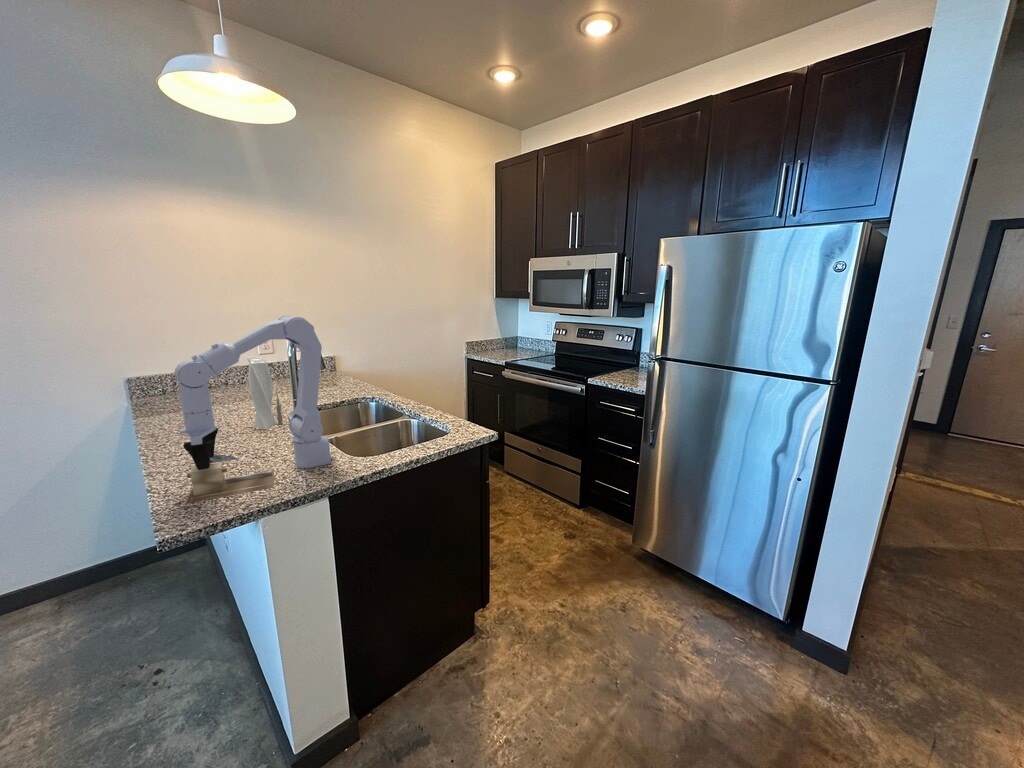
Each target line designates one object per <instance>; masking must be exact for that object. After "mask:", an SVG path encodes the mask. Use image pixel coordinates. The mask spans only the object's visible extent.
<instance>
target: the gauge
mask: <svg viewBox="0 0 1024 768" xmlns="http://www.w3.org/2000/svg"><path fill="white" fill-rule="evenodd" d="M225 473H228V468H227V467H224V466H223V461H221V462H215V463H214V462H213V463H210V465H209V468H208V469H202V470H198V469H197V467H196V465H194V466H193V467H192V468H191V470H190V473H187V474H186V477H187V479H190V480H191V486H192V488H193V493H194V495H200V494H205V493H211V492H217V491H222V490H224V487H225V478H226V477H225Z"/></svg>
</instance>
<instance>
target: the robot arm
mask: <svg viewBox="0 0 1024 768" xmlns="http://www.w3.org/2000/svg"><path fill="white" fill-rule="evenodd" d="M271 340H287V341H288V342H291V344H293V345H294V346H295V347H296V348H297V349H299V351H300V358H299V371H298V373H299V374H298V385H297V397H296V398H297V399H296V406H295V408H294V409H293V412H292V416H291V418H290V420H289V423H288V428H289V431H291V433H292V434H293V438H292V442H293V443H292V444H293V445H292V446H293V451H294V454H293V455H294V461H295V462H294V463H295V467H296V468H298V469H299V468H300V469H308V468H310V469H311V468H313V467H318V466H323V465H328V464H331V463H332V461H331V460H332V456H331V455H332V454H331V451H330V450H331V449H330V441H329V437H328V436H327V435H325V436H323V433H324V427H323V424H322V421H321V413H320V411H319V409H318V404H319V403H318V401H319V400H318V399H319V390H320V389H319V388H320V387H319V385H320V375H321V373H320V372H321V363H322V362H321V361H322V349H323V348H322V343H321V342H320V340H319V337H318V336H317V334H316V331H315V327H314V325H313V324H311V323H310V322H309V321H308V320H307V319H305V318H304V317H300V316H291V315H282V316H280V317H278V318H277V319H273V320H271V321H268V322H266V323H264V324H263V325H261V326H259V327H258V328H255V329H254V330H252V331H251V332H250V333H248V334H246V335H245V336H244V335H243V336H242V337H241V338H239V339H237V340H236V341H234V342H232V343H227V342H220V343H216V342H215V343H213V344H211V345H210V346H211V348H210V349H207V350H206V351H204V352H202V353H200V354H199V355H198V354H197V355H195V354H194V355H192V356H191V358H190V359H191V360H185V361H182V362H180V363H178V365H176V367H175V369H174V373H173V376H174V378H175V379H176V380H177V381H178V382H179V383H178V385H179V386H178V390H179V398H180V403H181V404H180V405H181V410H182V415H183V417H182V418H183V422H184V428H181V429H180V430H179V434H180V435H186V436H187V437H188V438H189V439H190V441H188V442H186V441H185V442H183V444H182V445H183V449H184V450H185V451H186V452H188V454H189V455H190V456H191V458H192V460H193V463H194V466H196V467H197V469H198V470H202V469H208V468H209V465H210V464H211V460H210V458H213V456H214V454H215V444H216V438H217V436H218V435H217V434H218V432H219V427H217V425H216V424H215V419H214V412H213V411H214V410H213V405H212V397H211V392H210V390H209V386H208V385H209V384H208V383H209V381H210V378H211V377H214V376H216V375H218V374H220V373H221V372H223V371H225V370H227V369H228V368H230V367H232V366H234V365H235V364H237V363H239V361H240V357H241V355H243V354H245V353H246V352H248V351H250V350H253V349H255V348H256V347H258V346H260V345H263V344H265V343H266V342H268V341H271Z"/></svg>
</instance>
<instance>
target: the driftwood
mask: <svg viewBox="0 0 1024 768" xmlns="http://www.w3.org/2000/svg"><path fill="white" fill-rule="evenodd" d="M226 455H227V454H216V453H214V456H213V458H210V464H214V463H221V462H229V461H232V460H233V461H234V460H238V458H237V457H235V456H234V455H233V456H232V455H230V456H226Z"/></svg>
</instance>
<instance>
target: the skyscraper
mask: <svg viewBox="0 0 1024 768" xmlns="http://www.w3.org/2000/svg"><path fill="white" fill-rule="evenodd" d="M246 359H247V362H248V363H249V364H248V387H249V394H250V398H251V401H252V403H253V407H254V409H255V421H254V422H255V423H254V429H255V428H259V429H267V428H271V427H272V426H275V425H277V424H278V425H283V426H284V422H283V415H282V405H280V399H279V396H278V395H279V394H276V403H277V404H276V406H275V407H276V413H277V415H276V418H277V419H276V418H275V416H274V414H273V413H274V412H273V410H272V403H273V394H274V392H273V391H274V387H273V386H274V385H273V378H272V373H271V372H270V368H269V365H268V362H267V359H265V358H262V357H260V356H248V357H247V358H246Z"/></svg>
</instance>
